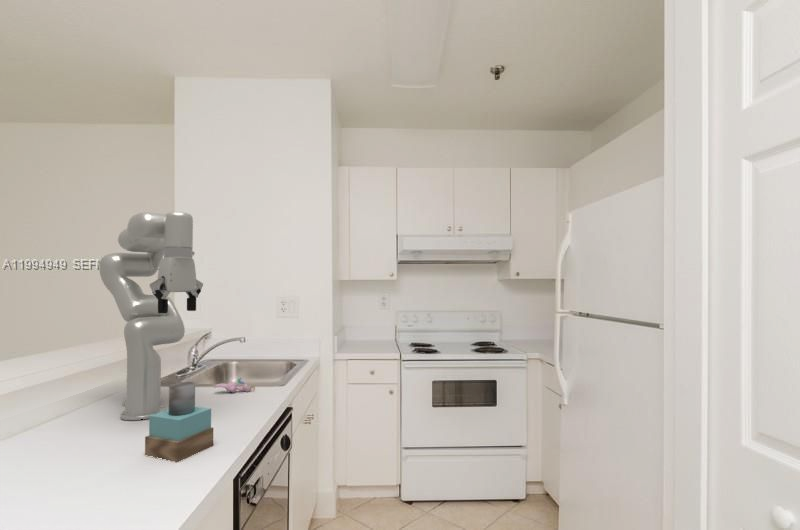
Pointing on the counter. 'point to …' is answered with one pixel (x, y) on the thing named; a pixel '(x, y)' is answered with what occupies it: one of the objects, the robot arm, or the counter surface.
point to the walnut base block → (178, 446)
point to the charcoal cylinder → (181, 398)
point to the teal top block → (179, 424)
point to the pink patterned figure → (233, 387)
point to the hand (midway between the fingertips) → (177, 311)
